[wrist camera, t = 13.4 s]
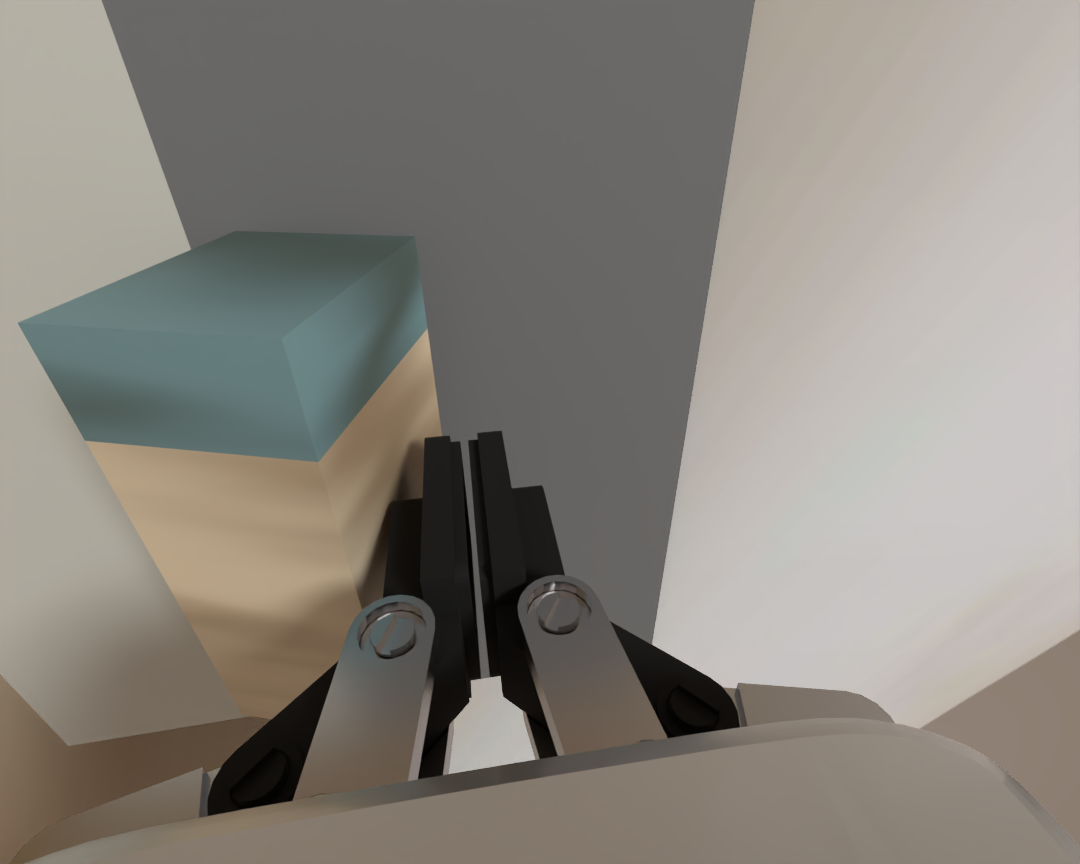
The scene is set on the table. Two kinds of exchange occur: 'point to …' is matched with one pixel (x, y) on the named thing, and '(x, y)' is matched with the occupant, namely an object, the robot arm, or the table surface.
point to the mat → (362, 209)
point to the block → (257, 433)
